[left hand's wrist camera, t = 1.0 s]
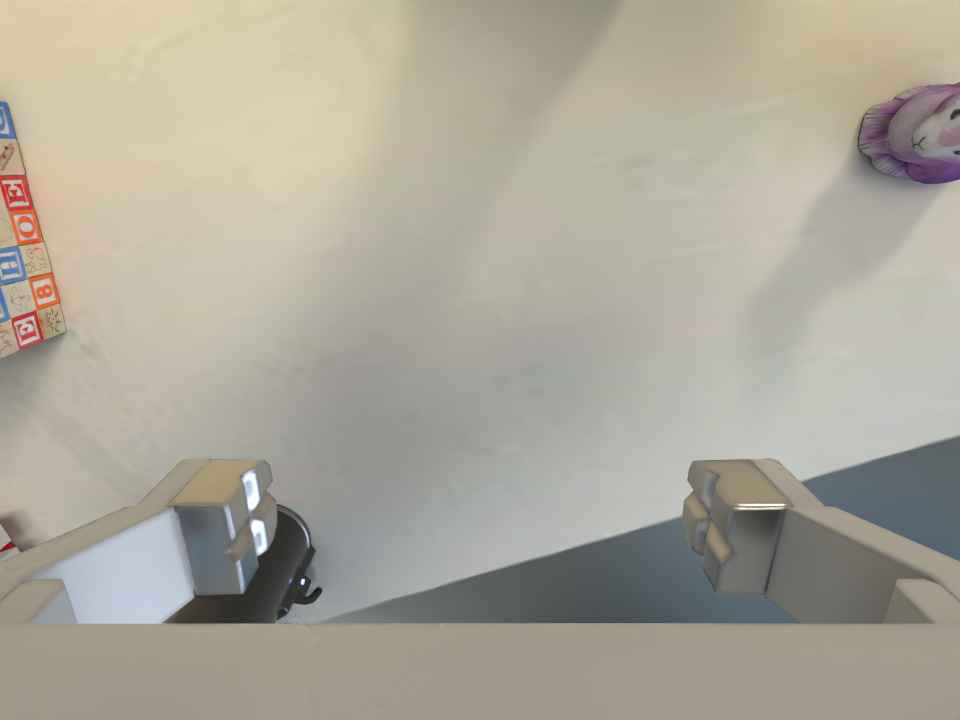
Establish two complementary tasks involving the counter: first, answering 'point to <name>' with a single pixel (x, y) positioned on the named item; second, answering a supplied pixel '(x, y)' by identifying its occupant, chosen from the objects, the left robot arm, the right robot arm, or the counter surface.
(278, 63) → the counter surface
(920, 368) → the counter surface
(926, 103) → the figurine
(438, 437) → the counter surface
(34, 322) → the stack of blocks
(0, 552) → the toy
